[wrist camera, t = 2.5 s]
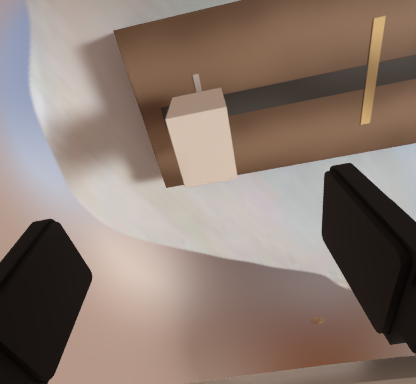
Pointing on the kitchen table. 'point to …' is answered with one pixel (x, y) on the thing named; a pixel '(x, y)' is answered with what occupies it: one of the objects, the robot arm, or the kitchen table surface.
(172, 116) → the block
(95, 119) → the kitchen table surface
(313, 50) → the control board
